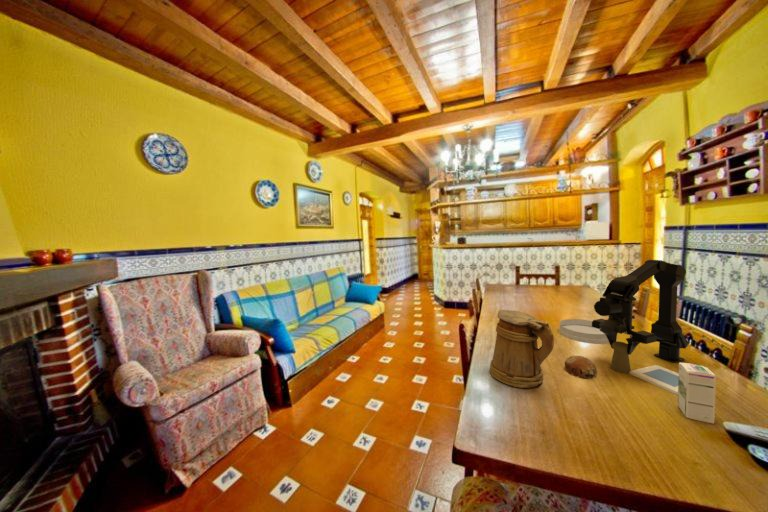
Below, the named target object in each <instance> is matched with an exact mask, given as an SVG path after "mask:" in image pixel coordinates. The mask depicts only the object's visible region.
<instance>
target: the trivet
mask: <svg viewBox="0 0 768 512" xmlns="http://www.w3.org/2000/svg"><path fill="white" fill-rule="evenodd" d="M628 375H631V376H633V377H635V378H638V379H640V380H642V381H645V382H646V383H647V382H648V383H650V384H652V385H654V386H656V387H658V388H660V389H662V390H666V391H667V392H669V393H672V394H674V395H677V396H678V381H679V372H677V371H673V370H671V369H668V368H666V367H663V366H661V365H658V364H653V365H650V366H645V367H641V368H637V369H633V370H631V371H629V374H628Z"/></svg>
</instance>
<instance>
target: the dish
mask: <svg viewBox="0 0 768 512" xmlns="http://www.w3.org/2000/svg"><path fill="white" fill-rule="evenodd" d="M592 321H593V320H589V319H580V318H568V319H562V320H560V321H559V326H558V327H559V328H558V332H559V334H560V335H561V336H563V337H564V338H567V339H569V340H573V341H576V342H580V343H585V344H594V345H604V344H610V343H609V341H608V338H607V336H606V335H605V334H604V333H603V332H601V331H600V329H601V328H600V329H598V328H595V327H592Z"/></svg>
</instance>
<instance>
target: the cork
mask: <svg viewBox="0 0 768 512" xmlns="http://www.w3.org/2000/svg"><path fill="white" fill-rule="evenodd" d="M612 347H613V349H612V350H613V353H612V358H611V363H610V365H609V366H610V367H609V368H610V369H611V370H612V371H614V372H616V373H619V374H623V375H630V374H629V371H632V369H631V361H630V355H628V353H627V347H628V342H623V341H617V340H616V342H614V343H613V344H612Z"/></svg>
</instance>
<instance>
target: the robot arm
mask: <svg viewBox="0 0 768 512" xmlns="http://www.w3.org/2000/svg"><path fill="white" fill-rule="evenodd" d="M686 274H687V270H686V268H685V267H683V266H682V264H674V263H670V262H667V261H664V260H661V259H660V260H659V259H647V260H646V261H644V263H643V264H642V265H640V266H639V267H638V268H636V269H635V270H633V271H632V272H630V273H629V274H627V275H624V276H617V277H615V278H613V279H611V280H610V282H609V283H608V285H607V287H606V288H605V290H604V292H603V294H602V297H600V298H599V300H598V301H596V302H595V303H594V304H593V309H594V311H595V312H596V314H597V315H599V316H601V317H607V316H608V319H604V318H598V319H593V320H591V321H592V327H595V328H598V329H600V328H601V329H600V331H601V332H603V333H604V334H605V335H606V336H607V338H608V341H609V343H608V344H609V345H610V347H611V349H612V350H614V349H613V347H612V344H613V343H614V342H617V338H618V334H620V335H622V334H624V335H625V334H626V335H629V337H627V338H625V340H626V343H627V344H628V347H627V353H628V355H629V356H630V355H632V353H633V352H634V351H635V350H636V349H637V346H639V344H643V345H648V344H652V343H656V342H658V344H659V345H658V346H659V347H658V353H655V354H653V355H654V356H655V357H656V358H660V359H663V360H666V361H669V362H671V363H679V362H681V361H685V358H683V357H680V356H681V355H680V352H681V351H680V350H681V349H684V350H685V349H687V347H688V345H689V341H688V339H687V337H685V336H684V334H683V329H682V327H681V325H680V324H679V323H678V322H677V310H678V307H677V306H678V286H680V284H682V283H683V281H684V280H685V276H686ZM652 277H653V278H654V280H655V281H656V283H657V284H658V286H659V287H658V288H659V290H658V291H659V293H658V317H657V320H655V322H653V323H651V325H650V327H651V329H650V332H649V331H645V330H639V331H636V330H635V325H633V320H634V319H635V318H636V315H633V301H637V298H636V297H634V296H635V295H637V293H638V292H639V291H640V289H641V288H640V286H641V285H642V284H643V283H645V282H646V281H648V280H649V279H650V278H652Z"/></svg>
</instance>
